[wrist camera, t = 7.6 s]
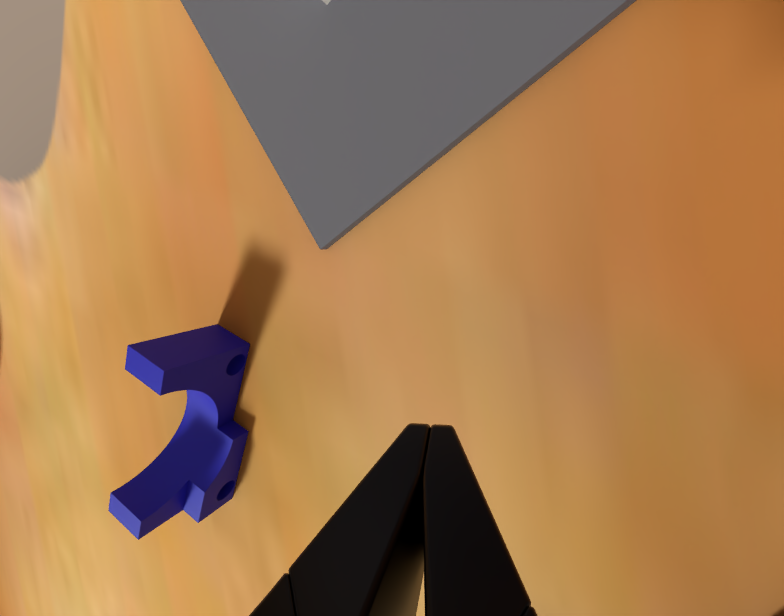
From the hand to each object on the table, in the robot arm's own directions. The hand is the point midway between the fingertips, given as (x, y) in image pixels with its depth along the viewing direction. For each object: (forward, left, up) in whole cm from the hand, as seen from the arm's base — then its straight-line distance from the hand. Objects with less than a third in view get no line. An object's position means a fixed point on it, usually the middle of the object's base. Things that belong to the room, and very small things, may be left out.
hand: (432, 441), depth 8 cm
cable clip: (+13, +16, -12) cm, 24 cm away
